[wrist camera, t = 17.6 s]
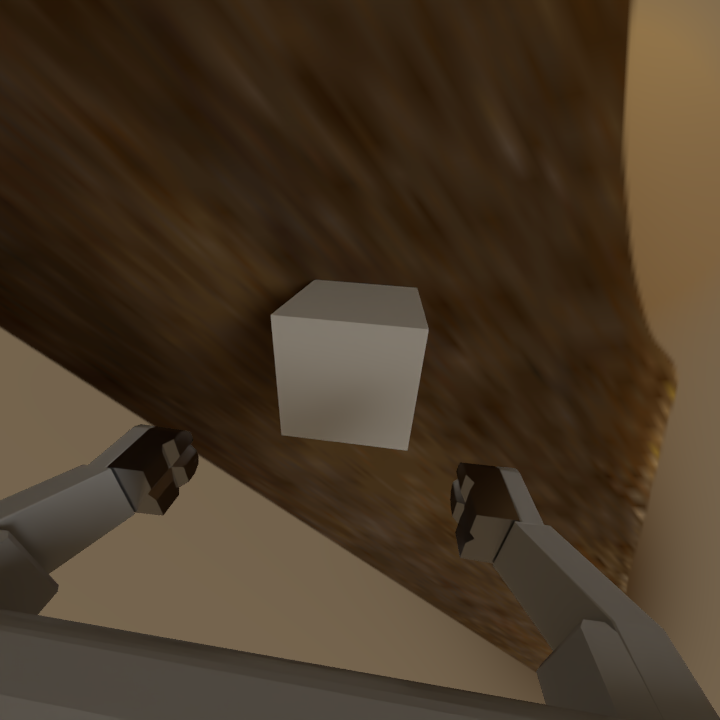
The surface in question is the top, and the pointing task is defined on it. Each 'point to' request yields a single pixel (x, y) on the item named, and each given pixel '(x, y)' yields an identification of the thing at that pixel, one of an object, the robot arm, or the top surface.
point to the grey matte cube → (349, 362)
